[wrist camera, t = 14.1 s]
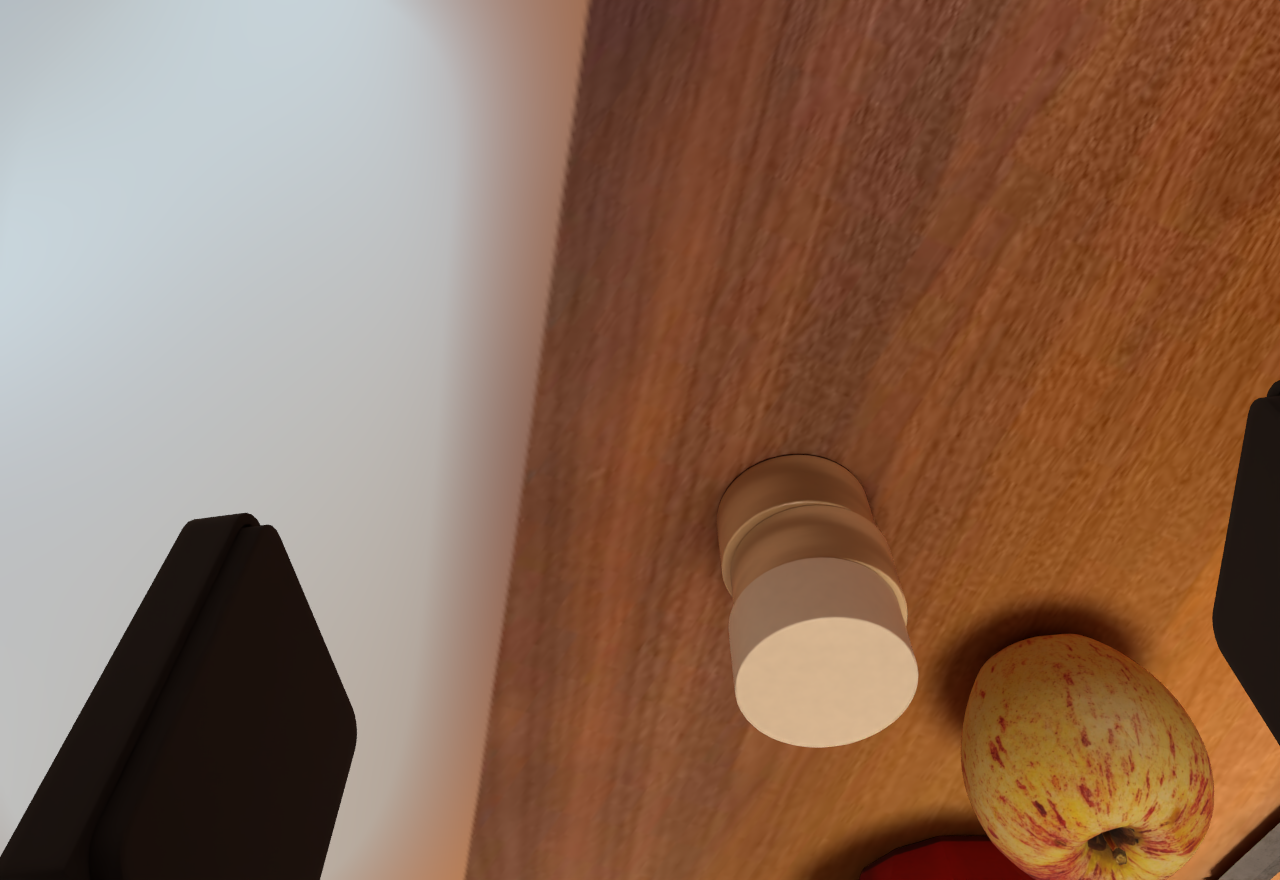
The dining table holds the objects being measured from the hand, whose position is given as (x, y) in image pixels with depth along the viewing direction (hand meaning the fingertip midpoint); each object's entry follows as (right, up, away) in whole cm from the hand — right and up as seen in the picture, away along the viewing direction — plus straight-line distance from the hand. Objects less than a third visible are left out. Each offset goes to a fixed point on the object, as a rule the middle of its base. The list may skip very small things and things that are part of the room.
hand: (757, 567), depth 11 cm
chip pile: (+5, -2, +33) cm, 33 cm away
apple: (+16, -9, +37) cm, 42 cm away
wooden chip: (+5, -5, +28) cm, 29 cm away
